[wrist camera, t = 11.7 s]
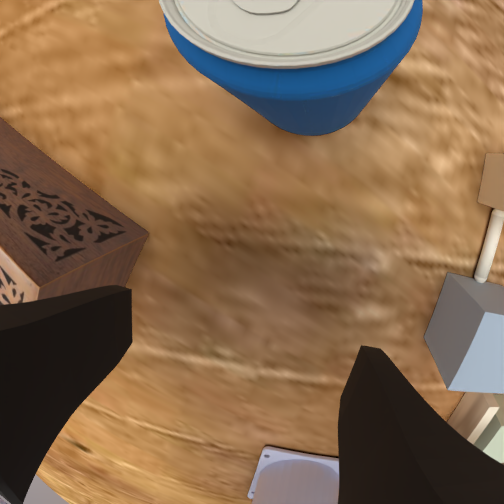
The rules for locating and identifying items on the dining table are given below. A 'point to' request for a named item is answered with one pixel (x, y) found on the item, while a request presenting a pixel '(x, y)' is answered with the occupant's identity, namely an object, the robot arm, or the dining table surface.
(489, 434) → the plain block
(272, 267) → the dining table surface
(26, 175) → the tissue box cover
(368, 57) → the beverage can
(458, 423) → the rack
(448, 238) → the dining table surface
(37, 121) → the dining table surface
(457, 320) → the corded block
